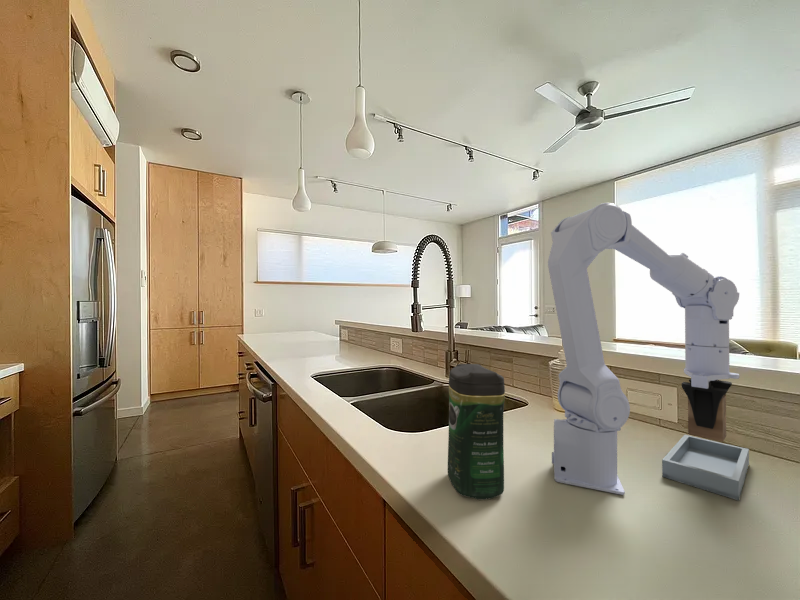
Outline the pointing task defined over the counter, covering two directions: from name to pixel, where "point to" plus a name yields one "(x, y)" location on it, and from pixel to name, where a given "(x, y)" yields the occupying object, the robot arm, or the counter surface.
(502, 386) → the coffee jar
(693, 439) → the tray
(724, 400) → the walnut block
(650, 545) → the counter surface
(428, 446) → the counter surface
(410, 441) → the counter surface
